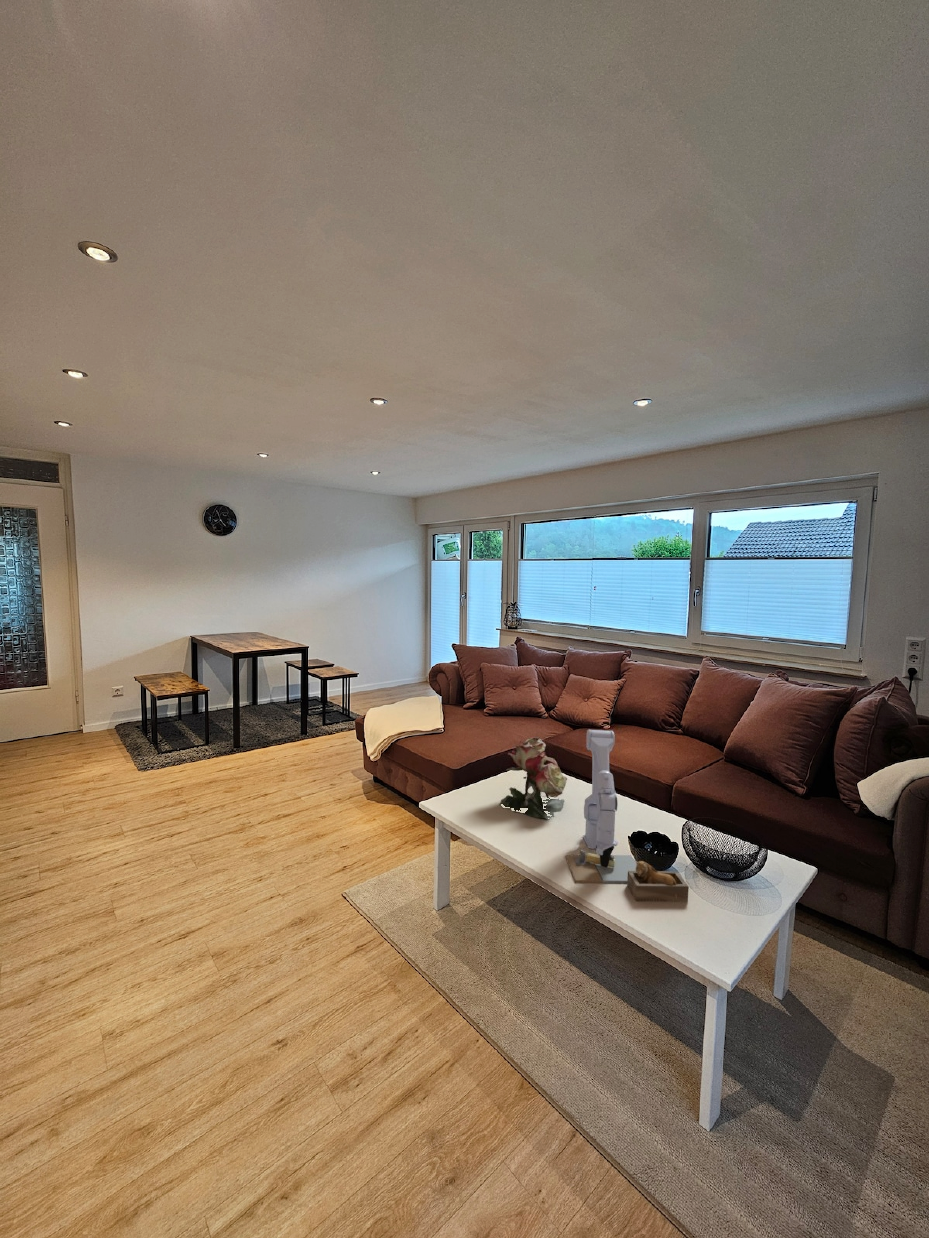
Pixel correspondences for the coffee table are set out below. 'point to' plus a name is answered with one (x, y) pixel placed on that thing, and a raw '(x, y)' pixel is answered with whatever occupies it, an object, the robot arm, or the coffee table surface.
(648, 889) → the display tray
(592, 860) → the latch bar
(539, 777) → the rose bouquet
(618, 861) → the door board
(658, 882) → the lion figurine
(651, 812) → the coffee table surface
